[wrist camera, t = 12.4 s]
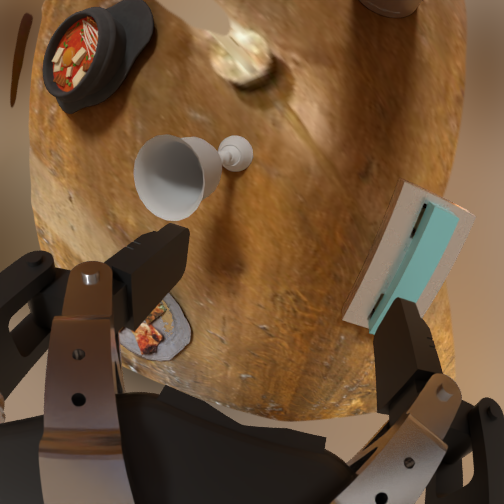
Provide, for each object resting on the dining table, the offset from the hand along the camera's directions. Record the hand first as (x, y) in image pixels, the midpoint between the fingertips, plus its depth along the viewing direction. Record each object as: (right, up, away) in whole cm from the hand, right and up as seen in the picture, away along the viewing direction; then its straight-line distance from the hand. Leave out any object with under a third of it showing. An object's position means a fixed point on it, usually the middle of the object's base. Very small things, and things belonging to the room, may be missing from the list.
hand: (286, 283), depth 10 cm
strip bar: (+21, -1, +27) cm, 34 cm away
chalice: (-3, +15, +28) cm, 32 cm away
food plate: (-25, -11, +47) cm, 54 cm away
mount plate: (+21, 0, +27) cm, 35 cm away
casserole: (-27, +35, +25) cm, 50 cm away
